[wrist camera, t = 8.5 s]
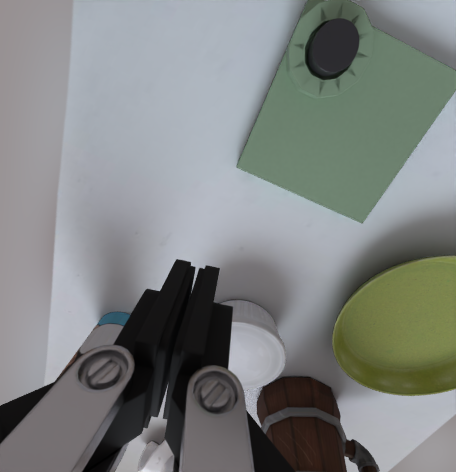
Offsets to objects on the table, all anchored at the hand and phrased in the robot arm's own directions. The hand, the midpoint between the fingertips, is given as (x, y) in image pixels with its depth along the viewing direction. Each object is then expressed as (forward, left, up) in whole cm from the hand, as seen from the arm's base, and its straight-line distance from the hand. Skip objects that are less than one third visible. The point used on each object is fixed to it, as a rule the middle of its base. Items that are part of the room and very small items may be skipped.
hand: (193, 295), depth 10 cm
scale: (-2, +11, -19) cm, 22 cm away
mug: (+36, -1, -19) cm, 41 cm away
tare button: (-7, +11, -16) cm, 21 cm away
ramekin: (+18, -6, -19) cm, 27 cm away
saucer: (+23, +15, -19) cm, 34 cm away
